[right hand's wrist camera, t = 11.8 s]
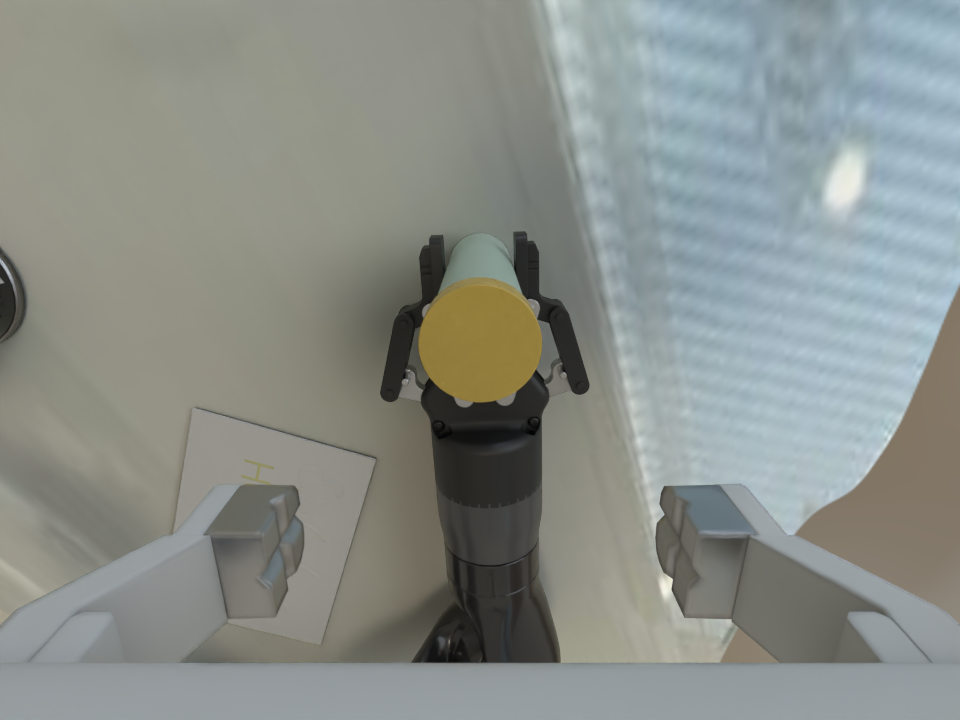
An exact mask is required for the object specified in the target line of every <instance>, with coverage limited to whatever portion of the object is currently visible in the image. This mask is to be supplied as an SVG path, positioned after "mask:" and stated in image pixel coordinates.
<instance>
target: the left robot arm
mask: <svg viewBox="0 0 960 720" xmlns="http://www.w3.org/2000/svg"><path fill="white" fill-rule="evenodd" d="M513 239H514V271H515V274H516V277H517V280H518V283H519V286H520V289H521V292H522V295H523V296H524V297H525V298H526V299H527V301H528V302H529V303H530V305H531V307H532V309H533V311H534V313H535V316H536V318H537V319H538V320H541V321H545V322H548V323H549V324H550V327H551V331H552V334H553V337H554V340H555V344H556V347H557V350H558V353H559V356H560V358H558V359H556V360H554V361H553V362H552V364H551V374H550V376H549V377H548V378H547V379H545V380H544V379H543V378H542V376H541V375H540V374H539V373H538V371H537V370H535V372H534V373H533V375H532V376H531V378H530V379H529V380H528V381H527V383H526V384H525V385H524V386H522V387H521V388H520V389H519V390H517V391H516V392H514V393H513V394H511V395H509V396H507V397H505V398H502V399H499V400H496V401H491V402H469V401H465V400H461V399H458V398H456V397H453V396H451V395H449V394H447V393H446V392H444V391H443V390H442V389H440V388H439V387H438V386H437V385H436V384H435V383H434V382H433V381H432V380H431V379H430V378H429V379H428V381H427V382H426V384H425V385H424V384H422V383H420V382H419V380H418V379H417V370H416V369H415V367H413V366H412V365H408V360H409V355H410V350H411V346H412V341H413V336H414V332H415V328H418V327H420V326H421V325H422V322H423V319H424V317H425V314H426V312H427V309H428V307H429V306H430V304H431V302H432V301H433V300H434V298H435V297H436V296H437V295H438V293H439V290H440V287H441V284H442V281H443V278H444V275H445V272H446V269H445V254H444V240H443V235H431V237H430V239H429V245H425V246H424V247H423V248H422V250H421V254H420V257H419V260H420V272H421V283H422V295H423V298H422V300H421V301H419V302H418V303H415V304H413V305H406V306H404V307H402V308H401V310H400V312H399V315H398V316H397V317H396V319H395V321H394V325H393V330H392V335H391V341H390V346H389V351H388V356H387V361H386V366H385V371H384V376H383V381H382V386H381V391H380V394H381V397H382V398H383V399H384V400H385V401H388V402H393V401H395V400H396V399H397V398H398V397H400V398H405V399H409V400H414V401H418V402H421V404H422V407H423V409H424V410H425V411H426V413H427V414H428V416H429V418H430V422H431V432H432V444H433V456H434V467H435V479H436V490H437V502H438V511H439V518H440V522H441V526H442V530H443V534H444V541H445V554H446V566H447V577H448V583H449V587H450V591H451V594H452V596H453V598H454V600H455V602H453V603H452V604H451V605H450V606H449V607H448V608H447V609H446V610H445V611H444V613H443V614H442V615H441V617H440V618H439V620H438V621H437V623H436V624H435V626H434V627H433V629H432V631H431V632H430V634H429V635H428V637H427V639H426V640H425V642H424V643H423V645H422V647H421V648H420V650H419V651H418V653H417V654H416V656H415V657H414V659H413V660H412V662H411V663H561V657H560V647H559V642H558V637H557V633H556V629H555V626H554V622H553V619H552V615H551V612H550V609H549V605H548V602H547V598H546V595H545V592H544V590H543V587H542V585H541V582H540V579H539V526H540V520H541V513H542V413H543V410H544V408H545V407H546V405H547V403H548V401H549V397H551V396H554V395H557V394H560V393H564V392H567V391H570V390H572V392H573V393H575V394H578V395H580V394H584V393H586V392H587V391H588V389H589V381H588V378H587V374H586V371H585V368H584V364H583V361H582V357H581V354H580V351H579V347H578V344H577V341H576V337H575V334H574V330H573V327H572V324H571V320H570V317H569V314H568V312H567V310H566V309H565V307H564V305H563V304H562V302H561V301H559V300H557V299H549V298H546V297H543V296H542V295H540V294H539V252H538V249H537V247H536V244H535V243H534V241H527V234H526V232H525V231H523V232H514V234H513ZM24 305H25V301H24V293H23V289H22V285H21V282H20V280H19V277H18V275H17V273H16V271H15V269H14V268H13V266H12V264H11V263H10V262H9V260H8V259H7V258H6V256H5V255H4V254H3V253H2V252H1V251H0V342H3V341H4V340H6V339H8V338H9V337H10V336H11V335H12V334H13V333H14V332H15V331H16V330H17V328H18V327H19V325H20V323H21V321H22V318H23V314H24Z"/></svg>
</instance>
